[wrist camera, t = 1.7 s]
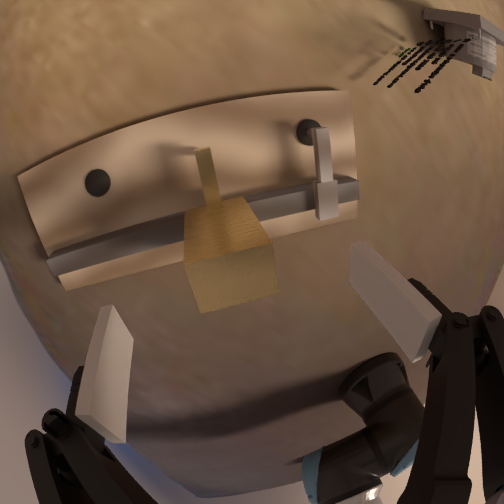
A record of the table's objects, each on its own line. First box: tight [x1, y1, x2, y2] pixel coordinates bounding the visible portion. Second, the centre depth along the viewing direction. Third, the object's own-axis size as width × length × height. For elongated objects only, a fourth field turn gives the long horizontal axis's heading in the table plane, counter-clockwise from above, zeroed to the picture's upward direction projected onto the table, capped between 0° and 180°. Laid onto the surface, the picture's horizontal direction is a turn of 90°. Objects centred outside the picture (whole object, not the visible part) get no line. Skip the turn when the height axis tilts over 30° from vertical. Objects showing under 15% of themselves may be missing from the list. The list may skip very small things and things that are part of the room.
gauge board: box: [18, 90, 359, 291], centre depth 23 cm, size 14×34×4 cm, turn 99°
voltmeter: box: [373, 8, 504, 93], centre depth 18 cm, size 27×11×10 cm, turn 135°
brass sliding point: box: [183, 146, 279, 314], centre depth 19 cm, size 8×5×11 cm, turn 9°
